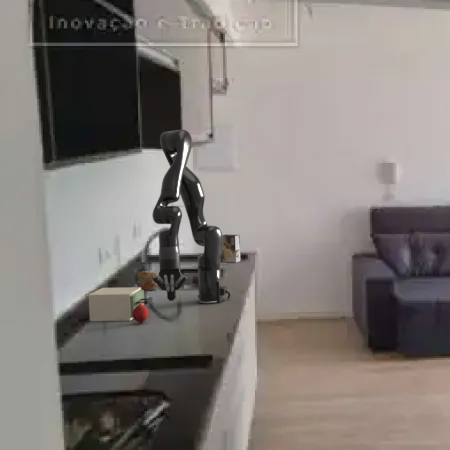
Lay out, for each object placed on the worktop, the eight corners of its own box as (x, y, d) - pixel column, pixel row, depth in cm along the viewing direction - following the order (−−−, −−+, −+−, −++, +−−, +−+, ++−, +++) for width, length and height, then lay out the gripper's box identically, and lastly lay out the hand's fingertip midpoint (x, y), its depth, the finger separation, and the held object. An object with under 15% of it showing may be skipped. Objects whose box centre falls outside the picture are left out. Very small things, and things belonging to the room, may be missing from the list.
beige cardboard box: (142, 312, 252) (141, 287, 251) (130, 320, 239) (129, 294, 238) (103, 313, 250) (102, 287, 249) (89, 321, 238) (88, 294, 237)
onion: (143, 326, 232) (142, 304, 231) (129, 325, 233) (128, 304, 232) (152, 322, 237) (152, 301, 237) (139, 321, 239) (138, 300, 238)
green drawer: (155, 310, 252) (154, 289, 251) (145, 317, 240) (144, 296, 239) (109, 311, 250) (108, 290, 249) (96, 318, 239) (95, 296, 238)
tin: (135, 287, 299) (134, 270, 298) (141, 286, 302) (140, 269, 301) (153, 291, 291) (153, 273, 290) (160, 290, 293) (159, 272, 293)
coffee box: (241, 261, 378) (240, 234, 376) (236, 262, 371) (235, 235, 370) (226, 260, 379) (226, 234, 377) (221, 262, 373) (220, 235, 371)
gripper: (189, 255, 249) (191, 297, 251) (155, 255, 247) (157, 298, 249) (184, 258, 241) (186, 302, 243) (148, 258, 240) (151, 303, 242)
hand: (171, 300), depth 246 cm, fingers closed
